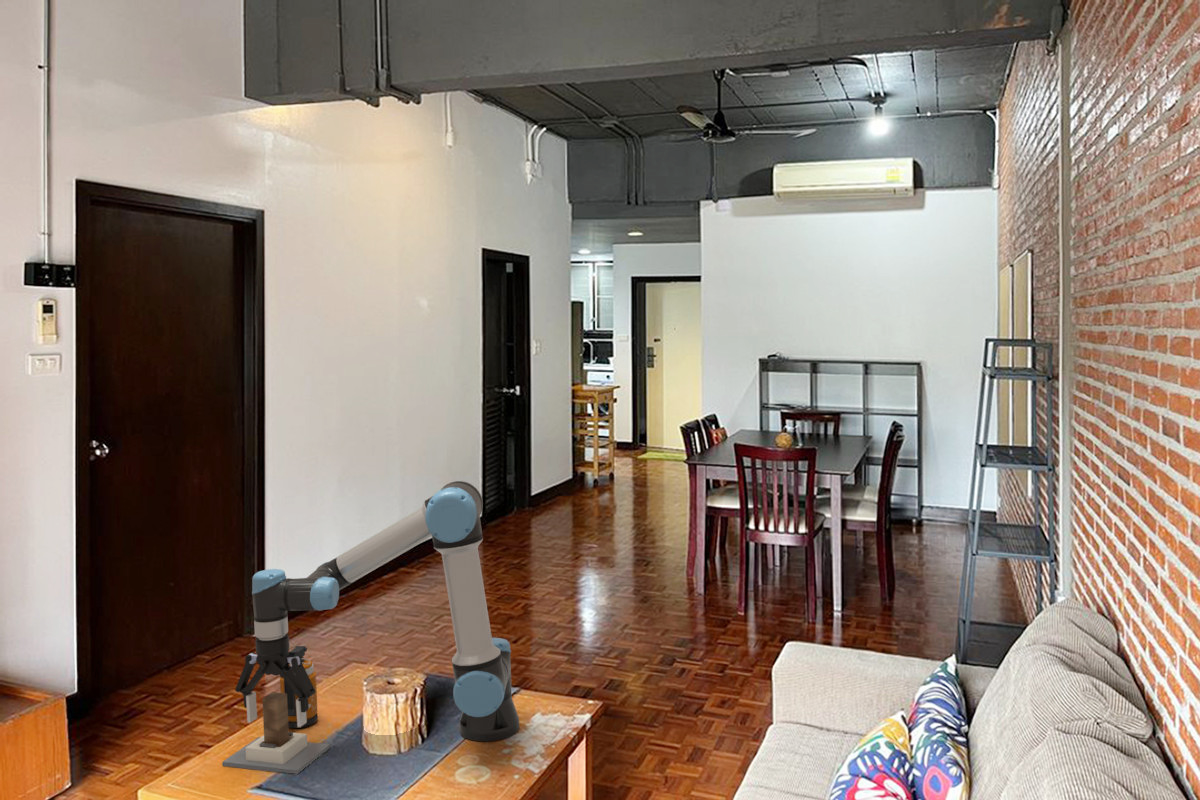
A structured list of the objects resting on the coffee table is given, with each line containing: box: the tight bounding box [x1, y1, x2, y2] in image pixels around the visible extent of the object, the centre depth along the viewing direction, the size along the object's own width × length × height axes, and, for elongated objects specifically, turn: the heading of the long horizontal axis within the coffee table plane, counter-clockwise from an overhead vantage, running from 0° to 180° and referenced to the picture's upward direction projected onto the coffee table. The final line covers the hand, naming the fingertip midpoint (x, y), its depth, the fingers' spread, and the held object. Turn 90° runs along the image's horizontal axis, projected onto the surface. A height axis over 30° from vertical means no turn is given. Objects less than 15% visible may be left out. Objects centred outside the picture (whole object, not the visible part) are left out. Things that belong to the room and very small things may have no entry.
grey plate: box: [221, 731, 331, 775], centre depth 225 cm, size 20×14×5 cm
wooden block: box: [261, 691, 290, 747], centre depth 224 cm, size 4×4×14 cm
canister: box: [279, 645, 319, 729], centre depth 243 cm, size 9×11×20 cm
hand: (277, 722), depth 224 cm, fingers open, 13 cm apart
